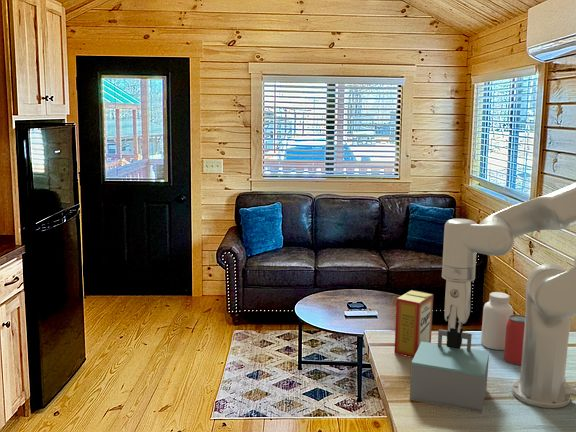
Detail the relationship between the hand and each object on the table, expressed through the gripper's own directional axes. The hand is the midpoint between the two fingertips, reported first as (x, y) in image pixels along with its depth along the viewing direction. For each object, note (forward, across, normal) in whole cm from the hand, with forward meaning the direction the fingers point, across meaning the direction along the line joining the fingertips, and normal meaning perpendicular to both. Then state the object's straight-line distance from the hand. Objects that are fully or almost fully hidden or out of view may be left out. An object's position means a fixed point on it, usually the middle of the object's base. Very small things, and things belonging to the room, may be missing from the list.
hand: (454, 345), depth 146 cm
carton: (+10, -5, 0) cm, 12 cm away
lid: (+2, -5, 0) cm, 5 cm away
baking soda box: (+11, +18, +13) cm, 25 cm away
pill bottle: (+11, +31, -8) cm, 34 cm away
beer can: (+11, +22, -14) cm, 28 cm away
